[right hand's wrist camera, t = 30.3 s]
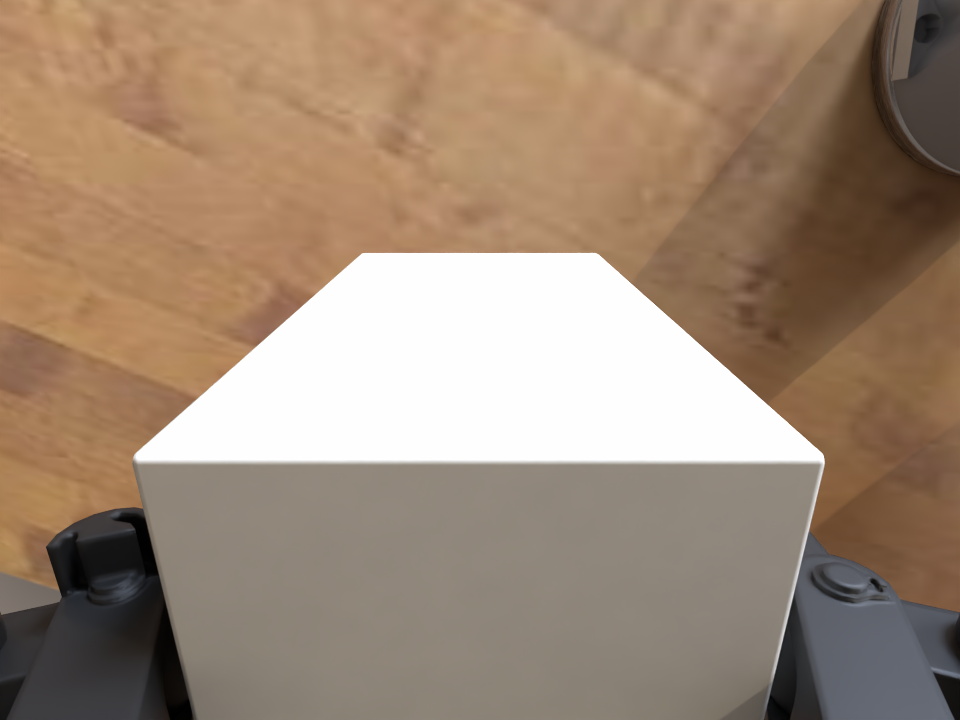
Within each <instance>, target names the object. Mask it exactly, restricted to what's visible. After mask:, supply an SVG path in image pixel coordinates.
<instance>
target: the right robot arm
mask: <svg viewBox="0 0 960 720" xmlns="http://www.w3.org/2000/svg"><path fill="white" fill-rule="evenodd" d="M872 72H873V86H874V92H875V98H876V102H877V105H878V109H879V112H880V114H881V117H882V120H883V122H884V124H885V126H886V128H887V130H888V131H889V133H890V134H891V136H892V137H893V139H894V140H895V142H896V143H897V144H898V145H899V146H900V147H901V148H902V150H904V151H905V152H906V153H907V154H908V155H909V156H910V157H912V158H913V159H914V160H916V161H917V162H919V163H920V164H922V165H924V166H926V167H928V168H930V169H932V170H935V171H938V172H941V173H944V174H949V175H953V176H960V0H886V1H885V3H884V6H883V9H882V12H881V15H880V19H879V22H878V26H877V31H876V35H875V41H874V49H873V63H872ZM46 549H47V552H48V555H49V558H50V561H51V564H52V567H53V570H54V574H55V577H56V580H57V583H58V586H59V589H60V592H61V596H62V598H61V600H60V602H58V603H54V604H50V605H45V606H41V607H36V608H31V609H27V610H22V611H18V612H13V613H8V614H4V615H1V613H0V720H194V718H193V714H192V709H191V705H190V701H189V697H188V693H187V689H186V684H185V680H184V676H183V672H182V668H181V664H180V659H179V655H178V651H177V647H176V643H175V639H174V634H173V630H172V626H171V622H170V618H169V614H168V609H167V605H166V601H165V597H164V593H163V589H162V584H161V580H160V576H159V572H158V568H157V564H156V560H155V555H154V551H153V547H152V543H151V539H150V535H149V530H148V526H147V522H146V518H145V514H144V510H143V509H141V508H135V507H133V508H120V509H113V510H109V511H105V512H101V513H98V514H94V515H92V516H89V517H87V518H85V519H82V520H80V521H78V522H75V523H73V524H72V525H70V526H69V527H67V528H66V529H64V530H63V531H61V532H60V533H58V534H57V535H56V536H55V537H54V538H53V539H52V541H51V542H50V543H49V544H48V545H47V546H46ZM764 720H960V613H959V612H954V611H950V610H945V609H941V608H936V607H931V606H927V605H922V604H917V603H913V602H908V601H905V600H901V599H899V597H898V595H897V594H896V593H895V591H894V590H893V589H892V587H891V586H890V585H889V583H888V582H886V581H885V580H884V579H882V578H881V577H880V576H879V575H877V574H876V573H875V572H873V571H872V570H870V569H868V568H866V567H864V566H862V565H860V564H858V563H856V562H854V561H851V560H848V559H844V558H841V557H838V556H834V555H829V554H828V552H827V551H826V550H825V549H824V548H823V547H822V545H821V544H820V543H819V542H818V541H817V540H816V538H815V537H814V536H813V535H812V534H811V533H810V531H809V532H808V536H807V540H806V545H805V549H804V553H803V557H802V561H801V566H800V570H799V574H798V578H797V582H796V587H795V591H794V595H793V599H792V603H791V608H790V612H789V616H788V620H787V624H786V629H785V633H784V637H783V641H782V645H781V650H780V654H779V658H778V662H777V666H776V671H775V675H774V679H773V683H772V687H771V692H770V696H769V700H768V704H767V708H766V713H765V717H764Z"/></svg>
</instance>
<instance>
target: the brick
mask: <svg viewBox="0 0 960 720" xmlns="http://www.w3.org/2000/svg"><path fill="white" fill-rule="evenodd" d="M824 465H825V462H824V457H823V454H822V453H821V452H820V451H819V450H817V449H816V448H815V447H814V446H813V445H812V444H811V443H810V442H808V441H807V440H806V439H805V438H804V437H803V436H802V435H801V434H799V433H798V432H797V431H796V430H795V429H794V428H793V427H792V426H790V425H789V424H788V423H787V422H786V421H785V420H784V419H783V418H781V417H780V416H779V415H778V414H777V413H776V412H775V411H774V410H772V409H771V408H770V407H769V406H768V405H767V404H766V403H765V402H763V401H762V400H761V399H760V398H759V397H758V396H757V395H756V394H754V393H753V392H752V391H751V390H750V389H749V388H748V387H747V386H745V385H744V384H743V383H742V382H741V381H740V380H739V379H738V378H736V377H735V376H734V375H733V374H732V373H731V372H730V371H729V370H727V369H726V368H725V367H724V366H723V365H722V364H721V363H720V362H718V361H717V360H716V359H715V358H714V357H713V356H712V355H711V354H709V353H708V352H707V351H706V350H705V349H704V348H703V347H702V346H700V345H699V344H698V343H697V342H696V341H695V340H694V339H693V338H691V337H690V336H689V335H688V334H687V333H686V332H685V331H684V330H682V329H681V328H680V327H679V326H678V325H677V324H676V323H675V322H673V321H672V320H671V319H670V318H669V317H668V316H667V315H666V314H664V313H663V312H662V311H661V310H660V309H659V308H658V307H657V306H655V305H654V304H653V303H652V302H651V301H650V300H649V299H648V298H646V297H645V296H644V295H643V294H642V293H641V292H640V291H639V290H637V289H636V288H635V287H634V286H633V285H632V284H631V283H630V282H628V281H627V280H626V279H625V278H624V277H623V276H622V275H621V274H619V273H618V272H617V271H616V270H615V269H614V268H613V267H611V266H610V265H609V264H608V263H607V262H606V261H605V260H604V259H602V258H601V257H600V256H599V255H598V254H596V253H363V254H361V255H360V256H359V257H358V258H356V259H355V260H354V261H353V262H352V263H351V264H350V265H349V266H347V267H346V268H345V269H344V270H343V271H342V272H341V273H339V274H338V275H337V276H336V277H335V278H334V279H333V280H332V281H330V282H329V283H328V284H327V285H326V286H325V287H324V288H322V289H321V290H320V291H319V292H318V293H317V294H316V295H315V296H313V297H312V298H311V299H310V300H309V301H308V302H307V303H305V304H304V305H303V306H302V307H301V308H300V309H299V310H298V311H296V312H295V313H294V314H293V315H292V316H291V317H290V318H288V319H287V320H286V321H285V322H284V323H283V324H282V325H281V326H279V327H278V328H277V329H276V330H275V331H274V332H273V333H271V334H270V335H269V336H268V337H267V338H266V339H265V340H264V341H262V342H261V343H260V344H259V345H258V346H257V347H256V348H254V349H253V350H252V351H251V352H250V353H249V354H248V355H247V356H245V357H244V358H243V359H242V360H241V361H240V362H239V363H237V364H236V365H235V366H234V367H233V368H232V369H231V370H230V371H228V372H227V373H226V374H225V375H224V376H223V377H222V378H220V379H219V380H218V381H217V382H216V383H215V384H214V385H212V386H211V387H210V388H209V389H208V390H207V391H206V392H205V393H203V394H202V395H201V396H200V397H199V398H198V399H197V400H195V401H194V402H193V403H192V404H191V405H190V406H189V407H188V408H186V409H185V410H184V411H183V412H182V413H181V414H180V415H178V416H177V417H176V418H175V419H174V420H173V421H172V422H171V423H169V424H168V425H167V426H166V427H165V428H164V429H163V430H161V431H160V432H159V433H158V434H157V435H156V436H155V437H154V438H152V439H151V440H150V441H149V442H148V443H147V444H146V445H144V446H143V447H142V448H141V449H140V450H139V451H138V452H137V453H135V455H134V458H133V468H134V472H135V476H136V480H137V485H138V489H139V493H140V497H141V501H142V505H143V510H144V514H145V518H146V522H147V526H148V530H149V535H150V539H151V543H152V547H153V551H154V555H155V560H156V564H157V568H158V572H159V576H160V580H161V584H162V589H163V593H164V597H165V601H166V605H167V609H168V614H169V618H170V622H171V626H172V630H173V634H174V639H175V643H176V647H177V651H178V655H179V659H180V664H181V668H182V672H183V676H184V680H185V684H186V689H187V693H188V697H189V701H190V705H191V709H192V714H193V718H194V720H764V717H765V713H766V708H767V704H768V700H769V696H770V692H771V687H772V683H773V679H774V675H775V671H776V666H777V662H778V658H779V654H780V650H781V645H782V641H783V637H784V633H785V629H786V624H787V620H788V616H789V612H790V608H791V603H792V599H793V595H794V591H795V587H796V582H797V578H798V574H799V570H800V566H801V561H802V557H803V553H804V549H805V545H806V540H807V536H808V532H809V528H810V524H811V519H812V515H813V511H814V507H815V503H816V498H817V494H818V490H819V486H820V482H821V477H822V473H823V469H824Z"/></svg>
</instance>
